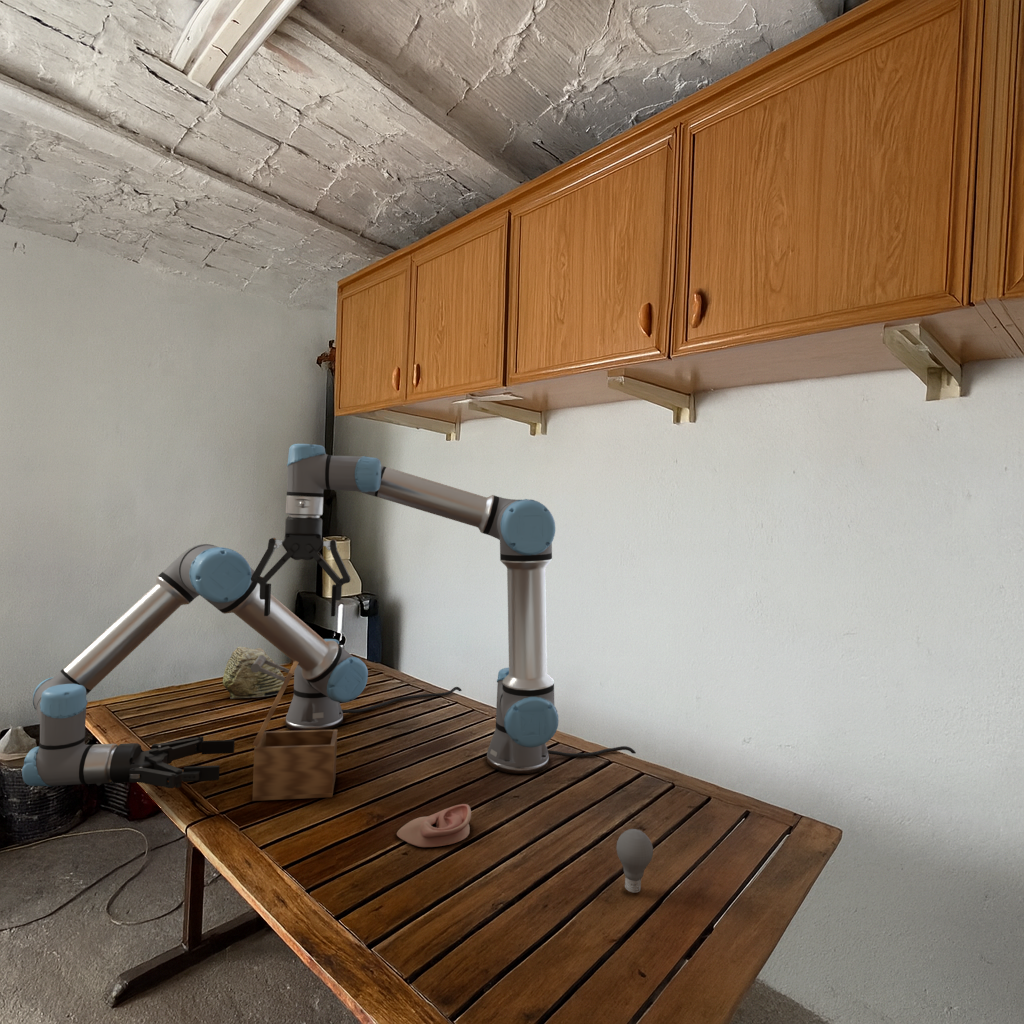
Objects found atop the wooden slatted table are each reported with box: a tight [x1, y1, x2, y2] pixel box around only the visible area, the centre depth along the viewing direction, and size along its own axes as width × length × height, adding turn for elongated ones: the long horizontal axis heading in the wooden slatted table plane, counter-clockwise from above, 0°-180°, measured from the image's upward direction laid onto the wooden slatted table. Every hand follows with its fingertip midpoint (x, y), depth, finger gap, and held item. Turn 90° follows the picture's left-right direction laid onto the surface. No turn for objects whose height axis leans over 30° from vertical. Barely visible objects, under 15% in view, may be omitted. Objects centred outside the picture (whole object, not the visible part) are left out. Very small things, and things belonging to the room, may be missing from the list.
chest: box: [252, 728, 338, 802], centre depth 137 cm, size 16×10×11 cm, turn 102°
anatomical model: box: [396, 803, 472, 848], centre depth 121 cm, size 13×4×12 cm
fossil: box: [222, 646, 287, 699], centre depth 198 cm, size 9×18×15 cm, turn 132°
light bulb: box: [615, 828, 654, 894], centre depth 106 cm, size 6×6×10 cm
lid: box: [251, 655, 299, 747], centre depth 135 cm, size 16×10×8 cm
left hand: (227, 759), depth 134 cm, fingers open, 13 cm apart
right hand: (300, 615), depth 136 cm, fingers open, 13 cm apart
